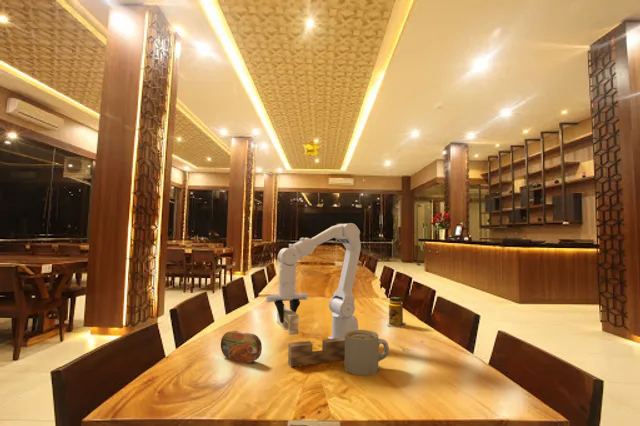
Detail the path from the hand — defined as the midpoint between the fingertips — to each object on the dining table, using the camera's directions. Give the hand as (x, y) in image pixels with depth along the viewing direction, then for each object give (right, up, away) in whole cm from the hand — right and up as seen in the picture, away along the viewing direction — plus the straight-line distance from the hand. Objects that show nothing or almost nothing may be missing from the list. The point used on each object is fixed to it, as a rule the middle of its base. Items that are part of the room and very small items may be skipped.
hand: (286, 321), depth 113 cm
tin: (-13, -9, -11) cm, 19 cm away
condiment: (+46, -12, +32) cm, 57 cm away
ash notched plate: (0, -2, -1) cm, 2 cm away
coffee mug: (+26, -9, -17) cm, 32 cm away
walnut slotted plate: (+11, -8, -12) cm, 18 cm away
